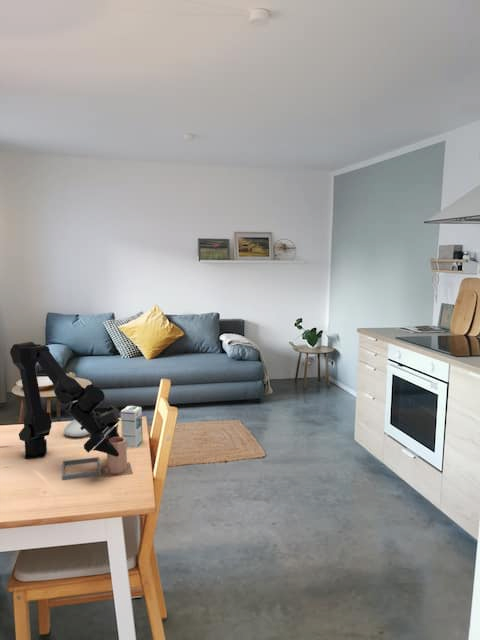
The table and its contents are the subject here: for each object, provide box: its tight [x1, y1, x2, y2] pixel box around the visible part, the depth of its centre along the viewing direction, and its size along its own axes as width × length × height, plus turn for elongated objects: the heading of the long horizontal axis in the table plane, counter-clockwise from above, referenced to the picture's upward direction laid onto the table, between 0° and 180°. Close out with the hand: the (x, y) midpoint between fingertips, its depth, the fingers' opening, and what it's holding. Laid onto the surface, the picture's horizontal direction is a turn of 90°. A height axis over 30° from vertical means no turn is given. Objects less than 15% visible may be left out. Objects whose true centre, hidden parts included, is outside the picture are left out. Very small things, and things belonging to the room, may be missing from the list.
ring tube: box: [104, 436, 128, 474], centre depth 162 cm, size 7×6×10 cm
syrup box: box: [120, 405, 144, 448], centre depth 184 cm, size 6×6×14 cm
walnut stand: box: [101, 462, 134, 478], centre depth 163 cm, size 9×9×5 cm
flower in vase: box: [63, 371, 90, 438], centre depth 194 cm, size 13×11×25 cm
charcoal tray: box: [61, 456, 102, 481], centre depth 162 cm, size 11×11×2 cm
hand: (121, 451), depth 162 cm, fingers closed on ring tube, 6 cm apart
